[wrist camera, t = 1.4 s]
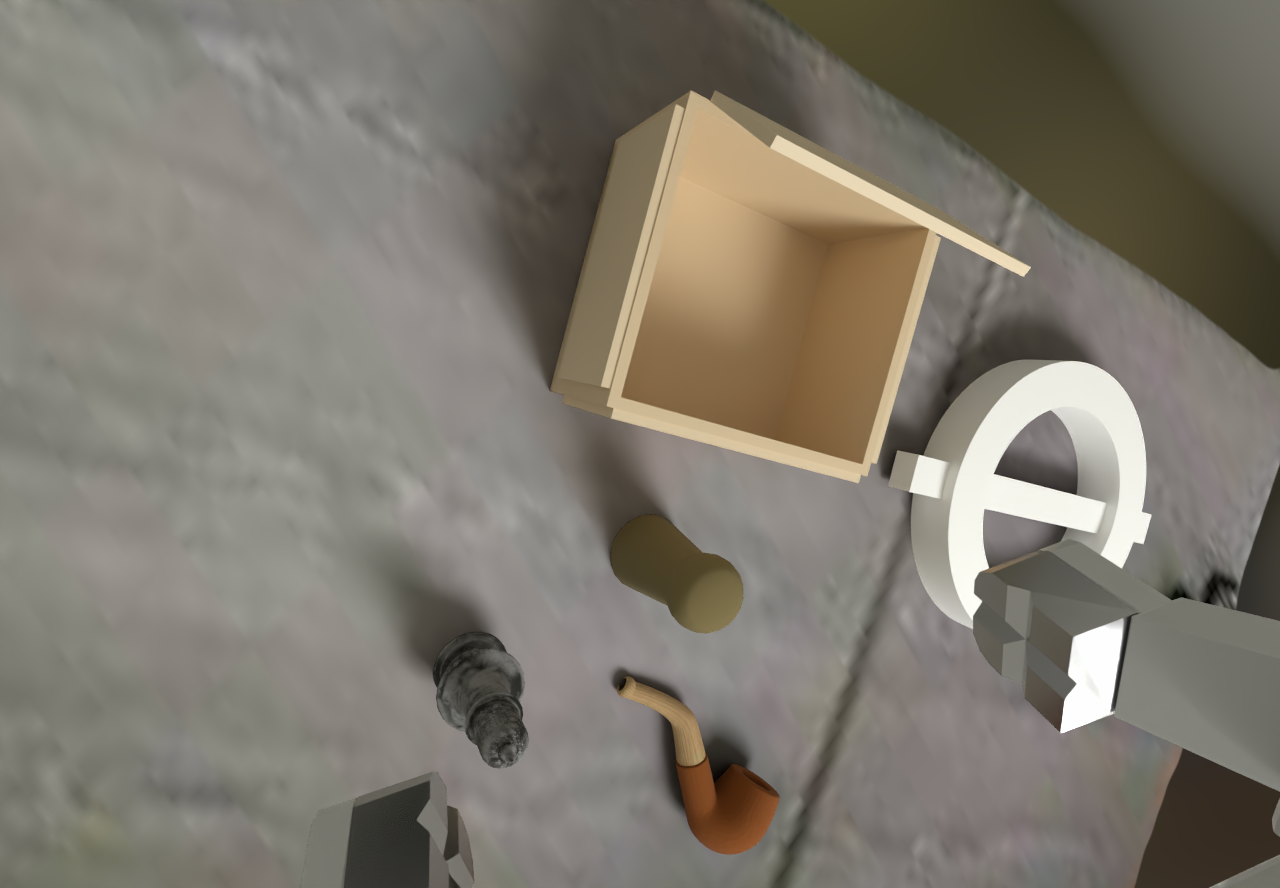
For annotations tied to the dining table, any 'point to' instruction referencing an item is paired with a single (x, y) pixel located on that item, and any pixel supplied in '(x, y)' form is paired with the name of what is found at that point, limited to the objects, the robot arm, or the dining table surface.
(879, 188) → the carton flap
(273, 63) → the dining table surface
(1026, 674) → the robot arm
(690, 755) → the smoking pipe
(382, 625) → the dining table surface
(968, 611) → the ring with crossbar
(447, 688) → the grey chess piece
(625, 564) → the cork
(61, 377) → the dining table surface
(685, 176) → the carton
